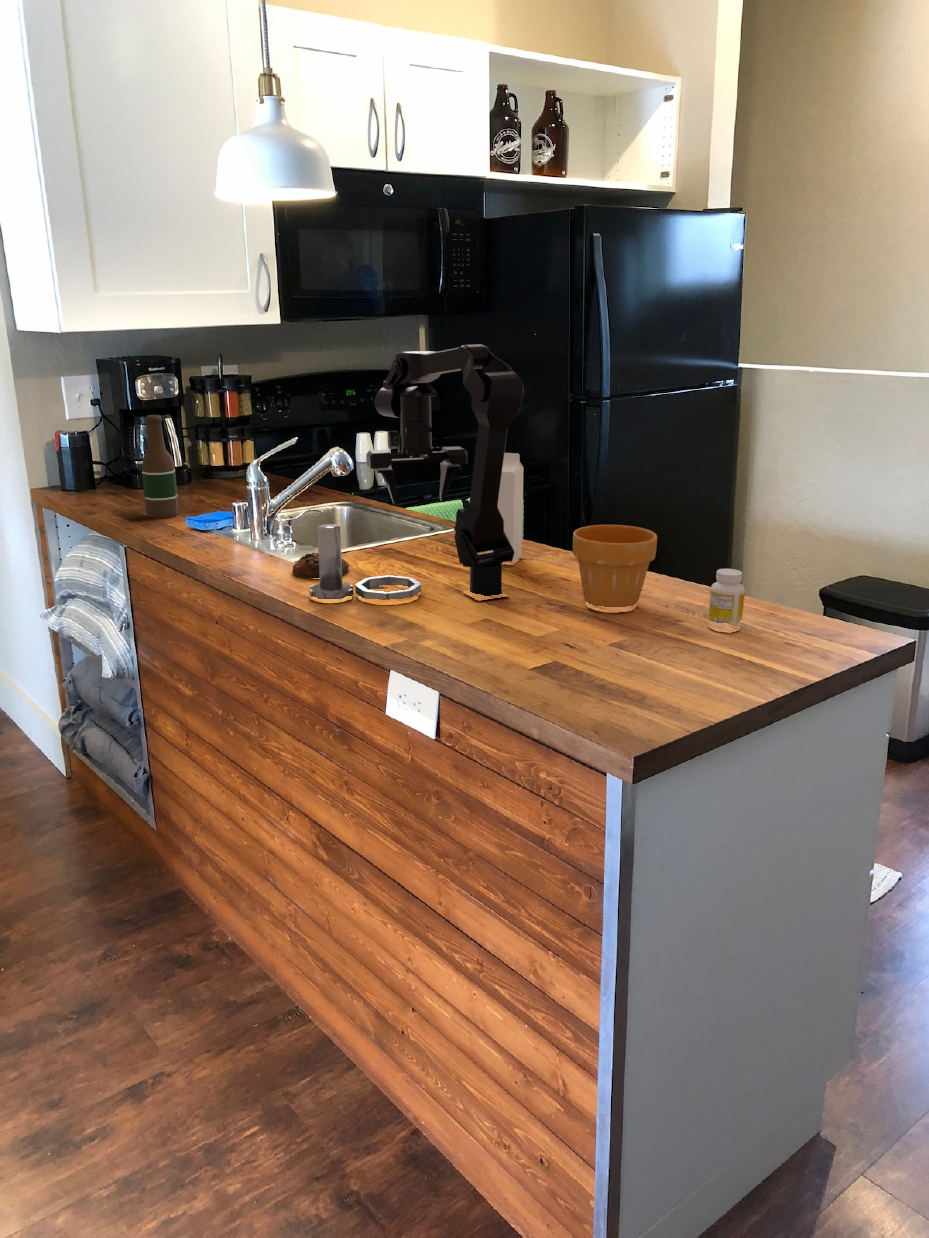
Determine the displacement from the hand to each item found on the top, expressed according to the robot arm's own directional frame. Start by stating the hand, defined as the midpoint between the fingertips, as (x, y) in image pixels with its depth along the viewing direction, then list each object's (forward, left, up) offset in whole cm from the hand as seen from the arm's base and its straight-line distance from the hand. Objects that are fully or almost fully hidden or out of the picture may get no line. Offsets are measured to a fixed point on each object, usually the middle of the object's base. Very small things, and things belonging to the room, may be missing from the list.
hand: (418, 502), depth 194 cm
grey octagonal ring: (-14, +12, -13) cm, 23 cm away
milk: (-1, -18, -14) cm, 23 cm away
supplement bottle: (-54, -31, -14) cm, 64 cm away
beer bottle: (+73, +37, -14) cm, 83 cm away
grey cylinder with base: (-11, +22, -14) cm, 28 cm away
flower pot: (-36, -21, -14) cm, 44 cm away
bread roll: (+7, +18, -14) cm, 24 cm away
